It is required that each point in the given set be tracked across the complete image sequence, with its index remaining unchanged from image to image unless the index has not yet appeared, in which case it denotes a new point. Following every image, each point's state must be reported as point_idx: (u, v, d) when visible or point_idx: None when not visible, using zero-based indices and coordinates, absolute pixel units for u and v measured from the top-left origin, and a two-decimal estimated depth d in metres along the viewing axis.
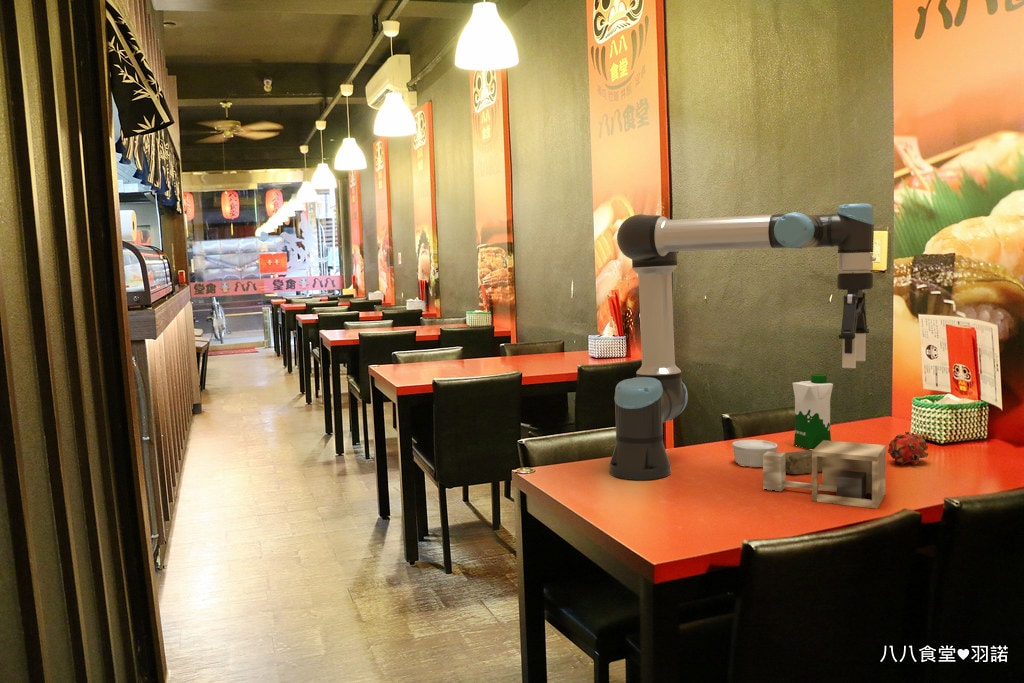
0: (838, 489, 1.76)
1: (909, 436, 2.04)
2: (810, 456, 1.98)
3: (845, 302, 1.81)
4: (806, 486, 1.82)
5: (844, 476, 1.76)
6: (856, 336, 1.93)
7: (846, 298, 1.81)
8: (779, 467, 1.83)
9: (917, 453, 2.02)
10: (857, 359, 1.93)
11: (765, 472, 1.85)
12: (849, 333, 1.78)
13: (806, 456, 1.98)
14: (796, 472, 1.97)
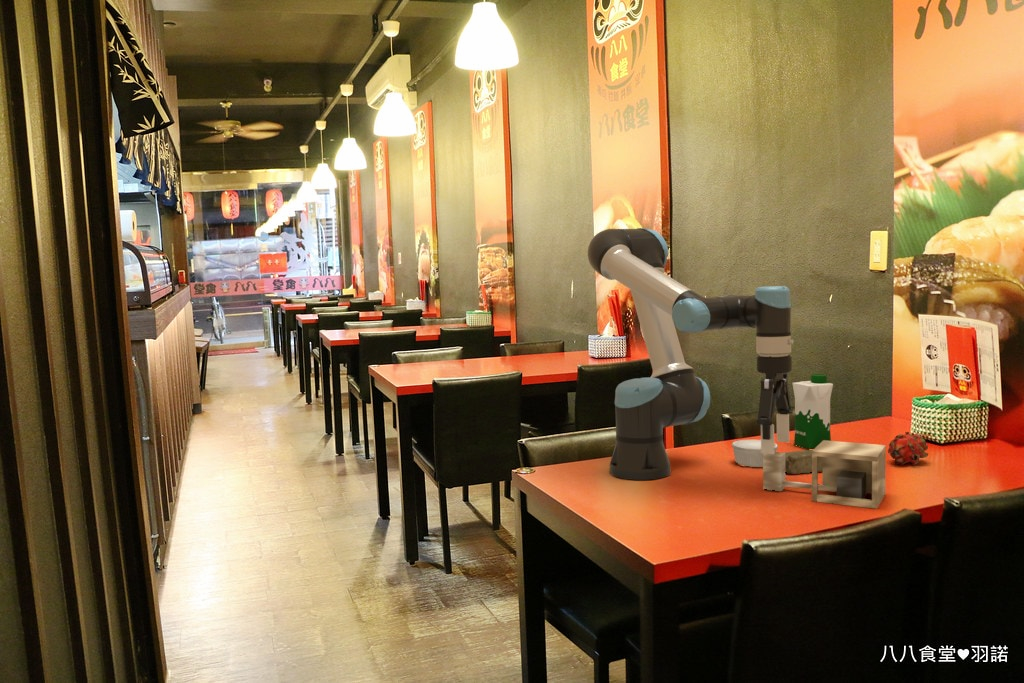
0: (838, 489, 1.76)
1: (909, 436, 2.04)
2: (809, 456, 1.98)
3: (762, 387, 1.78)
4: (806, 486, 1.82)
5: (844, 476, 1.76)
6: (779, 417, 1.90)
7: (763, 383, 1.78)
8: (779, 467, 1.83)
9: (917, 453, 2.02)
10: (781, 440, 1.90)
11: (765, 472, 1.85)
12: (765, 420, 1.76)
13: (805, 456, 1.98)
14: (795, 472, 1.98)
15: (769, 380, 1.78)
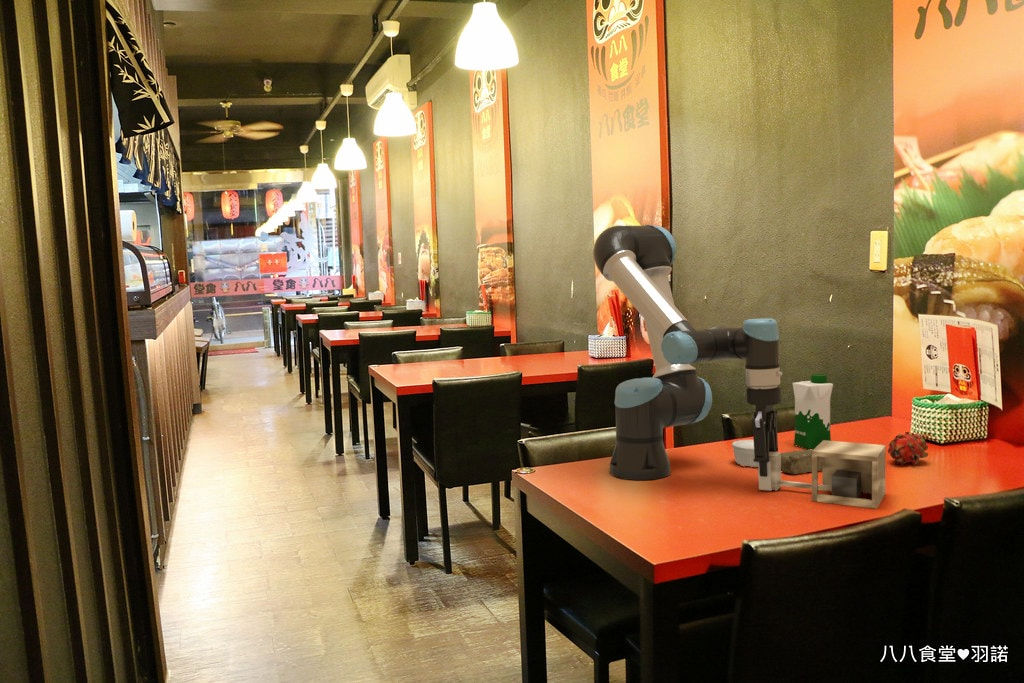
0: (833, 488, 1.76)
1: (909, 436, 2.04)
2: (809, 455, 1.99)
3: (754, 427, 1.81)
4: (801, 485, 1.82)
5: (839, 475, 1.76)
6: None
7: (754, 423, 1.81)
8: (774, 467, 1.84)
9: (917, 453, 2.02)
10: None
11: None
12: (762, 459, 1.81)
13: (805, 455, 1.98)
14: (796, 472, 1.98)
15: (759, 420, 1.80)
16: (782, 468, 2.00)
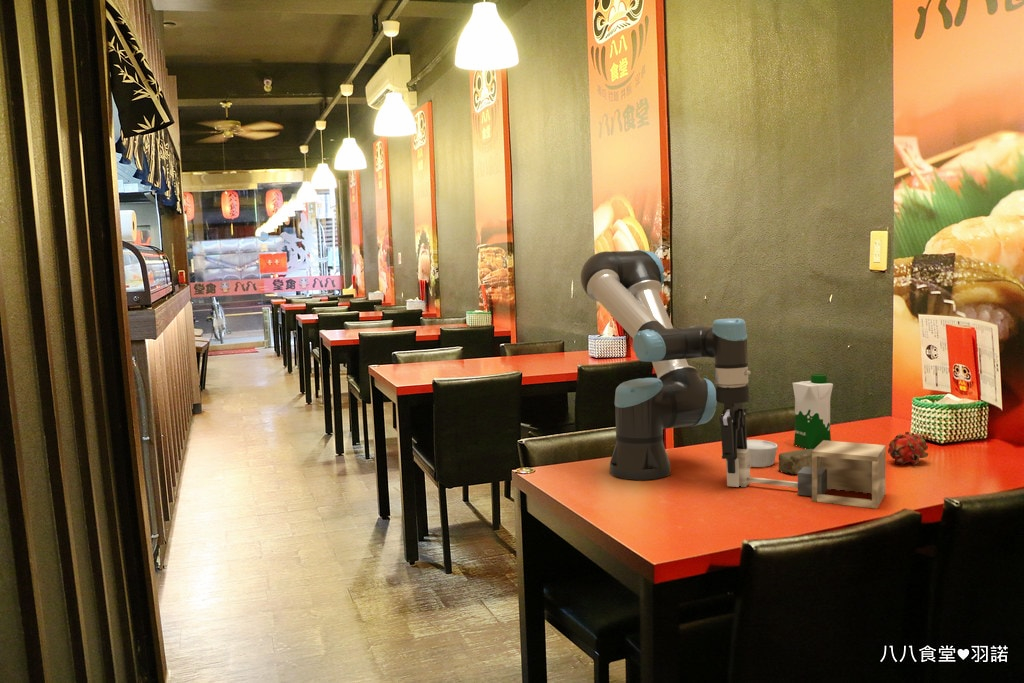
0: (799, 485, 1.80)
1: (909, 436, 2.04)
2: (809, 455, 1.99)
3: (722, 424, 1.85)
4: (769, 482, 1.86)
5: (805, 472, 1.80)
6: None
7: (722, 421, 1.85)
8: (743, 463, 1.87)
9: (917, 453, 2.02)
10: None
11: None
12: (730, 456, 1.85)
13: (806, 455, 1.99)
14: None
15: (727, 418, 1.84)
16: (783, 468, 2.00)
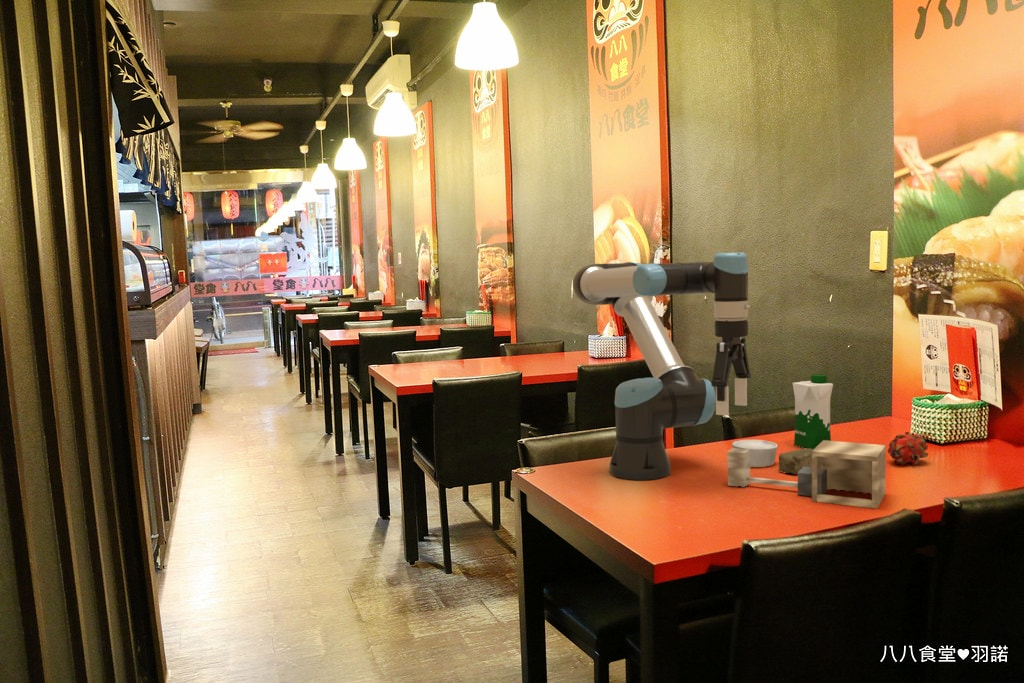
0: (799, 485, 1.80)
1: (909, 436, 2.04)
2: (810, 455, 1.99)
3: (717, 350, 1.84)
4: (769, 482, 1.86)
5: (805, 472, 1.80)
6: (737, 381, 1.95)
7: (718, 346, 1.84)
8: (743, 463, 1.87)
9: (917, 453, 2.02)
10: (739, 403, 1.96)
11: (730, 468, 1.89)
12: (719, 381, 1.81)
13: (807, 455, 1.99)
14: None
15: (724, 343, 1.83)
16: (784, 469, 1.99)
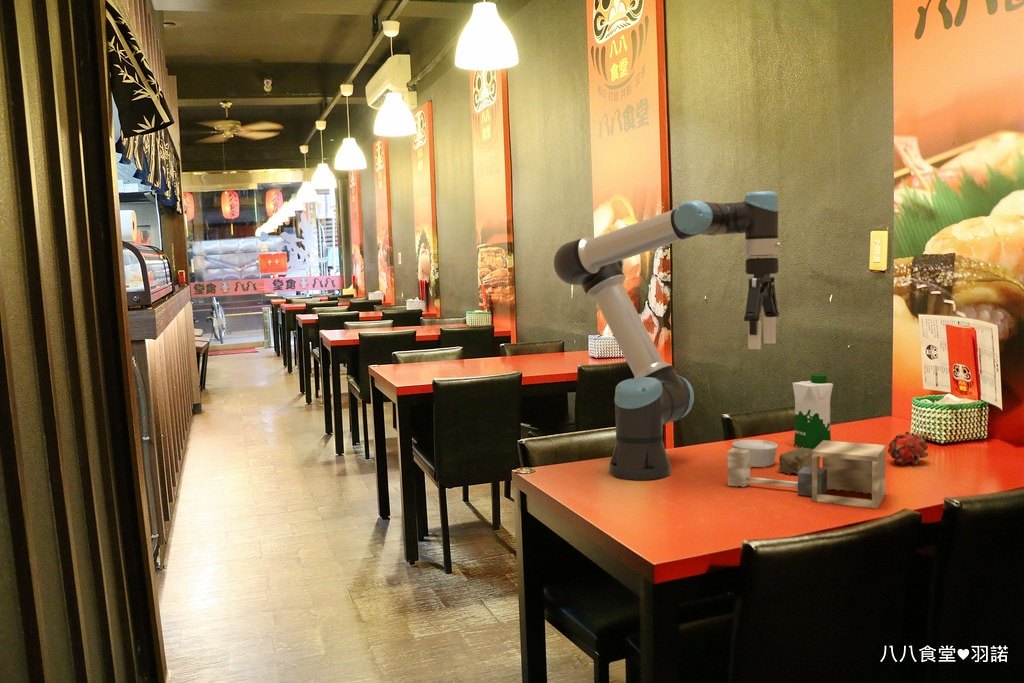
0: (799, 485, 1.80)
1: (909, 436, 2.04)
2: (809, 454, 2.00)
3: (750, 286, 1.89)
4: (769, 482, 1.86)
5: (805, 472, 1.80)
6: (766, 319, 2.01)
7: (751, 282, 1.89)
8: (743, 463, 1.87)
9: (917, 453, 2.02)
10: (768, 341, 2.01)
11: (730, 468, 1.89)
12: (752, 315, 1.86)
13: (807, 455, 1.99)
14: None
15: (756, 279, 1.88)
16: (786, 469, 1.99)
